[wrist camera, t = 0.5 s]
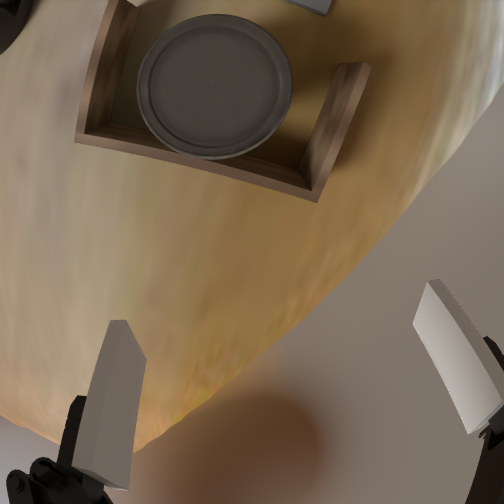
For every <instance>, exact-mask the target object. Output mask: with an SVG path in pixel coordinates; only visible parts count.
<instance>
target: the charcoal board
mask: <svg viewBox="0 0 504 504" xmlns="http://www.w3.org/2000/svg"><path fill="white" fill-rule="evenodd" d="M283 1H286V2H289V3H292V4H295V5H297V6H300V7H303V8H305V9H308V10H311V11H313V12H316V13H318V14H320V15H323V16H325V15H326V14H327V12H328V9H329V7H330V4H331V2H332V0H283Z"/></svg>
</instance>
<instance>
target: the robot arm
mask: <svg viewBox="0 0 504 504" xmlns="http://www.w3.org/2000/svg"><path fill="white" fill-rule="evenodd" d="M33 1H34V0H0V54H1V53H3V52H4V51H5V50H6V49H7V48H8V47H9V46H10V44H11V43H12V42H13V41H14V39H15V38H16V37H17V35H18V34H19V32H20V31H21V29H22V27H23V25H24V24H25V22H26V20H27V17H28V15H29V13H30V10H31V7H32V4H33ZM413 326H414V327H415V329H416V331H417V333H418V334H419V336H420V338H421V340H422V342H423V343H424V345H425V347H426V349H427V350H428V353H429V354H430V356H431V358H432V360H433V362H434V364H435V366H436V367H437V369H438V372H439V373H440V375H441V377H442V379H443V381H444V383H445V385H446V387H447V389H448V392H449V394H450V396H451V398H452V400H453V402H454V404H455V406H456V408H457V410H458V413H459V415H460V417H461V419H462V421H463V424H464V426H465V429H466V431H467V433H468V434H470V433H471V432H473V431H475V430H477V429H479V428H481V427H482V426H483V425H484V424H485V423H486V422H487V421H489V423H490V424H489V425H488V426H487V427H486V428H485V429H484V430H483V431H482V432H481V433H480V435H479V438H481V437H482V436H483V435H484V434H485V433H486V435H485V436H484V438H483V439H485V441H484V445H483V449H482V452H481V456H480V460H479V463H478V467H477V470H476V474H475V477H474V480H473V483H472V486H471V489H470V492H469V494H468V497H467V500H466V502H465V504H504V355H503V354H502V352H501V351H500V349H499V348H498V346H497V344H496V343H495V342H494V341H492V340H491V339H490V338H489V337H488V336H486V337H484V338H482V336H481V335H480V334H479V332H478V330H477V329H476V327H475V326H474V325H473V323H472V322H471V320H470V319H469V317H468V316H467V315H466V313H465V312H464V310H463V309H462V308H461V306H460V305H459V303H458V302H457V301H456V299H455V298H454V297H453V296H452V294H451V293H450V292H449V290H448V289H447V288H446V286H445V285H444V284H443V282H442V281H441V280H440V279H436V280H432V281H427V284H426V286H425V289H424V293H423V296H422V299H421V302H420V304H419V307H418V310H417V313H416V316H415V318H414V321H413ZM146 361H147V359H146V357H145V355H144V354H143V352H142V350H141V348H140V346H139V344H138V342H137V340H136V338H135V337H134V335H133V333H132V331H131V329H130V327H129V325H128V323H127V321H126V320H110V323H109V326H108V329H107V332H106V335H105V338H104V341H103V344H102V347H101V350H100V353H99V357H98V360H97V363H96V367H95V370H94V373H93V377H92V380H91V384H90V387H89V391H88V395H87V396H79V395H77V397H76V398H75V400H74V401H73V402H72V404H71V405H70V409H69V413H68V416H67V418H68V419H67V420H66V424H65V429H64V432H63V436H62V441H61V445H60V450H59V454H58V459H57V462H56V463H55V462H54V461H52V460H51V459H49V458H45V457H41V458H38V459H36V460H35V461H34V462H33V463H32V466H31V467H30V474H26V473H24V472H22V471H21V470H13V471H11V472H10V473H9V474H8V476H7V480H6V486H7V492H8V497H9V502H10V504H113V502H112V501H111V500H110V498H109V497H108V495H107V494H106V492H105V491H104V490H103V489H104V485H106V486H108V487H110V488H113V489H119V490H125V491H129V483H130V471H131V461H132V453H133V444H134V436H135V429H136V422H137V415H138V408H139V401H140V395H141V389H142V383H143V377H144V372H145V366H146Z"/></svg>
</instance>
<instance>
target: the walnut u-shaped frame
mask: <svg viewBox="0 0 504 504" xmlns="http://www.w3.org/2000/svg"><path fill="white" fill-rule="evenodd" d="M140 11H141V10H140V9H139V8H137V7H136V6H134V5H133V4H131V3H130V2H128V1H127V0H109V2H108V5H107V7H106V10H105V13H104V16H103V19H102V22H101V25H100V28H99V31H98V34H97V37H96V41H95V44H94V47H93V51H92V55H91V58H90V62H89V66H88V70H87V74H86V78H85V83H84V87H83V92H82V97H81V102H80V108H79V113H78V119H77V126H76V132H75V139H74V142H75V143H80V144H86V145H91V146H97V147H102V148H107V149H112V150H117V151H122V152H127V153H132V154H136V155H141V156H146V157H150V158H154V159H159V160H163V161H167V162H172V163H176V164H180V165H184V166H188V167H192V168H196V169H200V170H204V171H208V172H212V173H216V174H219V175H223V176H227V177H231V178H234V179H238V180H242V181H245V182H249V183H252V184H256V185H259V186H263V187H266V188H269V189H273V190H276V191H279V192H283V193H286V194H289V195H293V196H296V197H299V198H302V199H305V200H309V201H312V202H315V203H317V202H318V199H319V197H320V195H321V193H322V190H323V188H324V186H325V183H326V181H327V179H328V176H329V174H330V172H331V169H332V167H333V164H334V162H335V160H336V157H337V155H338V153H339V150H340V148H341V145H342V143H343V140H344V138H345V136H346V133H347V131H348V128H349V126H350V123H351V121H352V118H353V116H354V113H355V111H356V108H357V106H358V103H359V101H360V98H361V96H362V93H363V90H364V88H365V85H366V83H367V80H368V77H369V75H370V72H371V69H372V67H373V66H371V65H369V64H367V63H365V62H353V63H342V64H339V65H338V67H337V70H336V73H335V75H334V78H333V81H332V83H331V86H330V88H329V91H328V94H327V96H326V99H325V101H324V104H323V107H322V109H321V112H320V114H319V117H318V119H317V122H316V125H315V127H314V130H313V132H312V135H311V137H310V140H309V142H308V145H307V148H306V150H305V153H304V155H303V158H302V160H301V163H300V165H299V168H298V170H294V169H291V168H288V167H285V166H282V165H279V164H276V163H273V162H269V161H266V160H263V159H260V158H256V157H253V156H249V155H246V154H241V155H238V156H235V157H231V158H225V159H216V160H207V159H198V158H194V157H189V156H186V155H183V154H181V153H178V152H176V151H174V150H172V149H171V148H169V147H168V146H166V145H165V144H163V143H162V142H161V141H160V140H159V139H158V138H157V137H156V136H155V135H154V134H153V133H152V132H151V131H150V130H145V129H140V128H135V127H130V126H125V125H120V124H114V123H110V118H111V113H112V108H113V104H114V99H115V95H116V91H117V87H118V83H119V79H120V75H121V71H122V67H123V64H124V60H125V57H126V53H127V50H128V47H129V44H130V40H131V37H132V34H133V31H134V28H135V25H136V23H137V20H138V17H139V14H140Z"/></svg>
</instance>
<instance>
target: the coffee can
mask: <svg viewBox="0 0 504 504" xmlns="http://www.w3.org/2000/svg"><path fill="white" fill-rule="evenodd" d="M292 92H293V78H292V71H291V67H290V63H289V61H288V58H287V56H286V54H285V52H284V50H283V48H282V47H281V45H280V44H279V43H278V41H277V40H276V39H275V38H274V37H273V36H272V35H271V34H270V33H269V32H267V31H266V30H265V29H263V28H262V27H261V26H259V25H257V24H256V23H254V22H252V21H249V20H247V19H244V18H241V17H238V16H233V15H226V14H210V15H202V16H197V17H194V18H190V19H187V20H185V21H183V22H180V23H178V24H177V25H175V26H173V27H172V28H170V29H169V30H167V31H166V32H165V33H164V34H163V35H161V36H160V37H159V38H158V39H157V40H156V41H155V42H154V44H153V45H152V46H151V47H150V49H149V50H148V52H147V53H146V55H145V57H144V59H143V61H142V64H141V66H140V69H139V73H138V78H137V86H136V93H137V102H138V106H139V109H140V112H141V115H142V117H143V119H144V121H145V123H146V125H147V126H148V128H149V129H150V131H151V132H152V133H153V134H154V135H155V136H156V137H157V138H158V139H159V140H160V141H161V142H162V143H163V144H165V145H166V146H168V147H169V148H171V149H172V150H174V151H176V152H178V153H181V154H183V155H186V156H189V157H194V158H198V159H207V160H216V159H225V158H231V157H235V156H238V155H241V154H244V153H246V152H248V151H250V150H252V149H254V148H256V147H257V146H259V145H260V144H262V143H263V142H264V141H266V140H267V139H268V138H269V137H270V136H271V135H272V134H273V133H274V132H275V131H276V130H277V128H278V127H279V126H280V124H281V123H282V121H283V120H284V118H285V116H286V114H287V112H288V109H289V106H290V103H291V98H292Z"/></svg>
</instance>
